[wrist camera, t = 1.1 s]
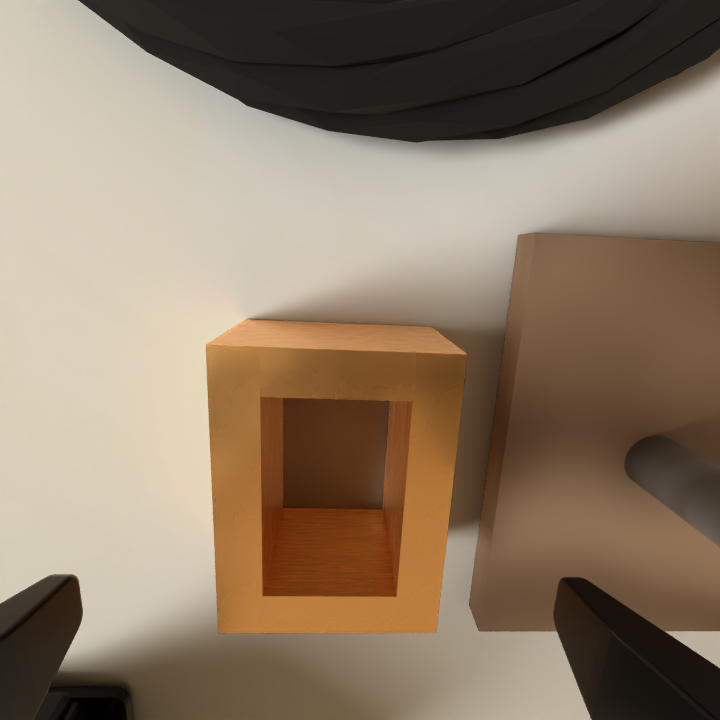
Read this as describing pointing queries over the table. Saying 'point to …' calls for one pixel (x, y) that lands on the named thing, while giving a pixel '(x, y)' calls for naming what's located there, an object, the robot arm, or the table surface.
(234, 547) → the hollow wooden frame
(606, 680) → the robot arm
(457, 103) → the cable lock
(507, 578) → the plate
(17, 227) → the table surface
